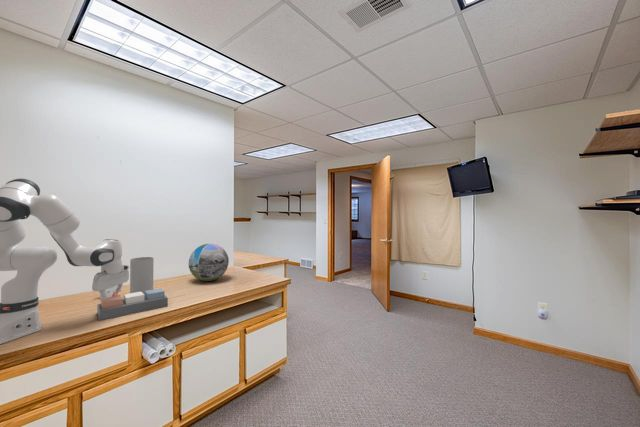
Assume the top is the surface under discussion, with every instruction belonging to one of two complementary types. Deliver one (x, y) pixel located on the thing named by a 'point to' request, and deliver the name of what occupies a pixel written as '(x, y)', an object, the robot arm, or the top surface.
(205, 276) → the grey textured ball
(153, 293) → the slate key
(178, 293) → the top surface
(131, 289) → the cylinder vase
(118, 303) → the terracotta key
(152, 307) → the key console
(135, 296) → the white key
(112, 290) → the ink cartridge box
